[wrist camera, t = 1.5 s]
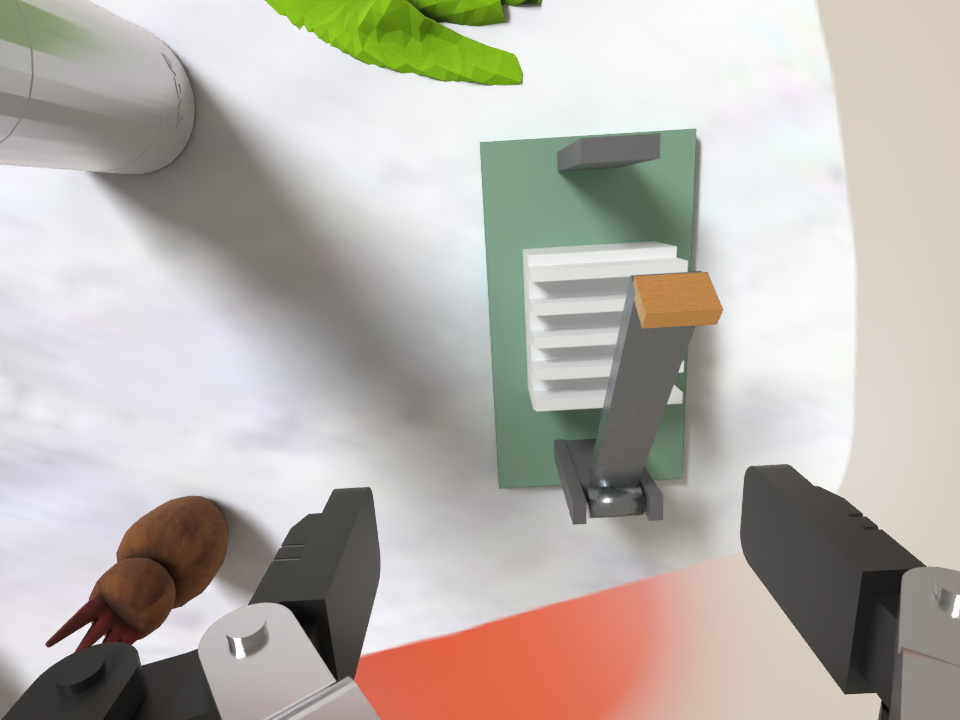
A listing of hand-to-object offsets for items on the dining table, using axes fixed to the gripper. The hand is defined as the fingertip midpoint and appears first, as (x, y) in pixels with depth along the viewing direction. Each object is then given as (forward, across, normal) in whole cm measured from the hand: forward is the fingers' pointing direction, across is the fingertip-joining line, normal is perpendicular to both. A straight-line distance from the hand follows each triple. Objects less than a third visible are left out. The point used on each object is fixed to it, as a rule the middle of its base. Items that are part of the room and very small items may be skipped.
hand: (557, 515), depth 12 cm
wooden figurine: (+30, +25, +17) cm, 43 cm away
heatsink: (+30, -6, +3) cm, 31 cm away
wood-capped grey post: (+17, -6, +4) cm, 19 cm away
